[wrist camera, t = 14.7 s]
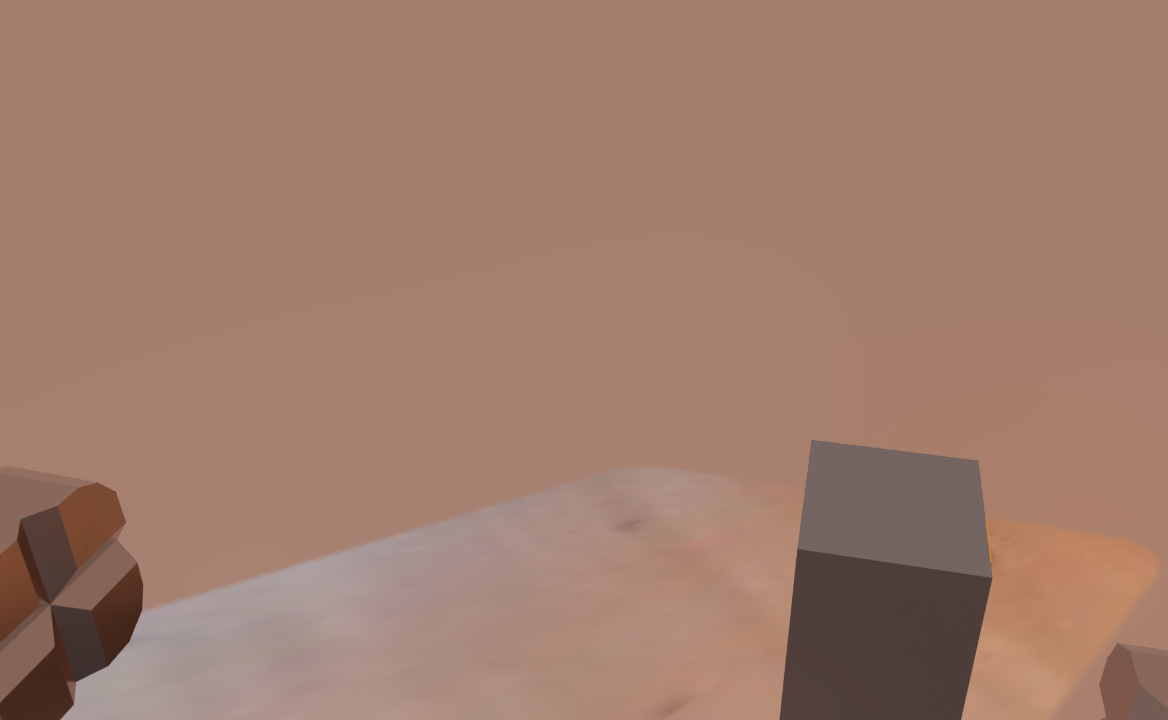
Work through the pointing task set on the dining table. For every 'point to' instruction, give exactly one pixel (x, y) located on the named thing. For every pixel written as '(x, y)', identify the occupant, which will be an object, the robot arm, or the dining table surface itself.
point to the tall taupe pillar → (886, 586)
